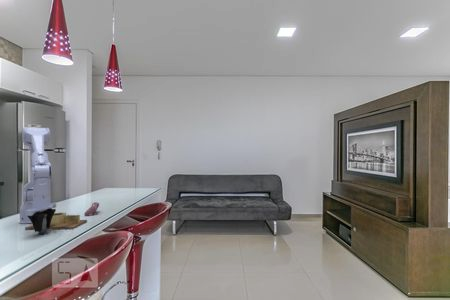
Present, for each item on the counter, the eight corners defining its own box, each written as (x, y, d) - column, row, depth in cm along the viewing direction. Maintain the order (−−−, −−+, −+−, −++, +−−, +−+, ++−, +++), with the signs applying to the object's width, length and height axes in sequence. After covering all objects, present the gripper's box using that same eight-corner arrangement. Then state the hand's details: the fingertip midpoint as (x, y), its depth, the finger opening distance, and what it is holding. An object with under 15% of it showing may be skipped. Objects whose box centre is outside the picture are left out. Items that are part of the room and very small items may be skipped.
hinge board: (25, 229, 110) (25, 227, 110) (43, 222, 121) (43, 220, 121) (73, 229, 110) (73, 226, 110) (87, 222, 121) (87, 219, 121)
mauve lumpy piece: (92, 218, 132) (98, 206, 133) (83, 215, 131) (89, 202, 132) (95, 214, 142) (102, 202, 143) (87, 211, 141) (93, 199, 142)
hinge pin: (35, 235, 103) (34, 215, 103) (41, 232, 106) (40, 213, 106) (43, 235, 103) (43, 215, 103) (49, 232, 106) (49, 213, 106)
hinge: (30, 225, 112) (30, 216, 112) (41, 221, 118) (40, 212, 118) (75, 225, 112) (75, 215, 112) (83, 221, 118) (83, 212, 118)
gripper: (39, 198, 97) (39, 235, 97) (63, 192, 111) (63, 224, 111) (19, 198, 97) (20, 235, 97) (46, 192, 111) (47, 224, 111)
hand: (42, 229), depth 104 cm, fingers open, 4 cm apart
